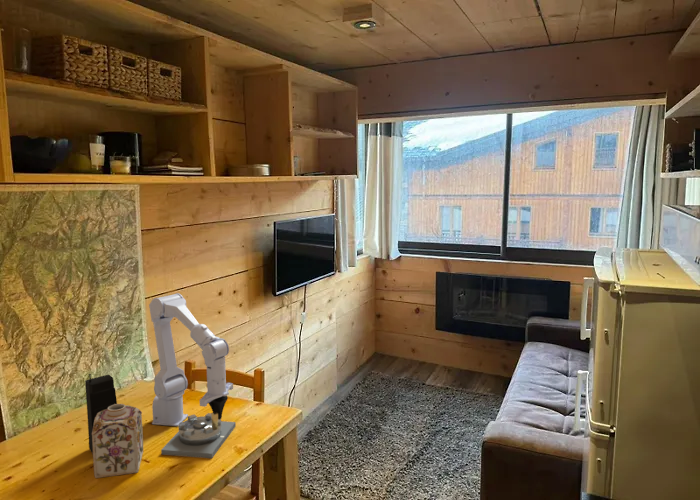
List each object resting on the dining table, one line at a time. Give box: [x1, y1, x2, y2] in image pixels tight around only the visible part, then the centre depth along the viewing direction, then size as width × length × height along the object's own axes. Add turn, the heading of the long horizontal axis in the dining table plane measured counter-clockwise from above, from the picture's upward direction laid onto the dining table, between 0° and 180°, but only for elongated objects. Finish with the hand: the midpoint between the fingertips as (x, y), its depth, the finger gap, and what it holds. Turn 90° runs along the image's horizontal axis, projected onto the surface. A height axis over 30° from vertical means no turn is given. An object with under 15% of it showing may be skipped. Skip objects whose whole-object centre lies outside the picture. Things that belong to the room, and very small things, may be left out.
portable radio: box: [84, 373, 118, 454], centre depth 154 cm, size 8×6×25 cm
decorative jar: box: [91, 403, 144, 479], centre depth 145 cm, size 12×12×18 cm
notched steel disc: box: [178, 411, 222, 445], centre depth 160 cm, size 13×13×8 cm
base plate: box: [160, 420, 236, 459], centre depth 161 cm, size 16×20×2 cm
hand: (217, 418), depth 161 cm, fingers closed
